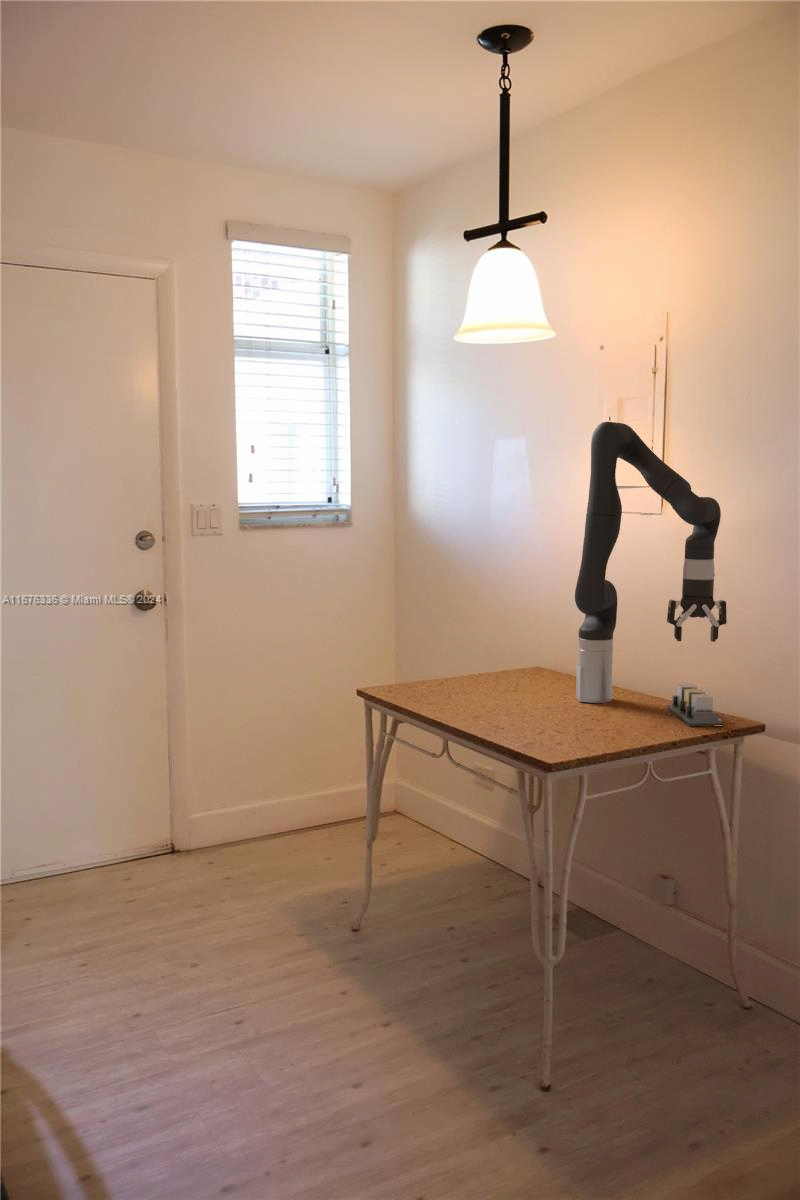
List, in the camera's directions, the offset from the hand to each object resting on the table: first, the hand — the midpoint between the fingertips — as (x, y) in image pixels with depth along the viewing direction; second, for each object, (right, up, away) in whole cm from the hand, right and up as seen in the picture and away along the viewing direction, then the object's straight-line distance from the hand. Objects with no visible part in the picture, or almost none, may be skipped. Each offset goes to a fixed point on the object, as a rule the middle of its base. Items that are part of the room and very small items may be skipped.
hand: (695, 641), depth 249 cm
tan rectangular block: (0, -18, 0) cm, 18 cm away
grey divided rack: (0, -19, 0) cm, 19 cm away
